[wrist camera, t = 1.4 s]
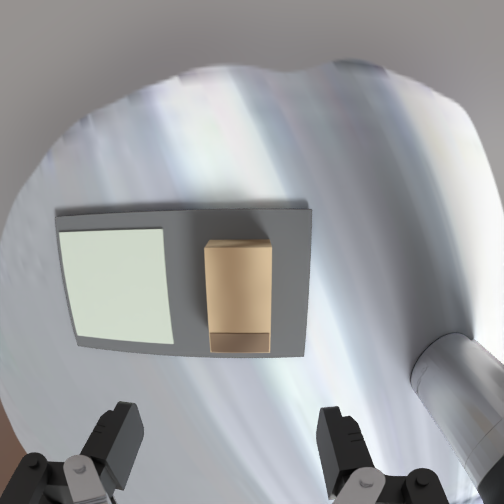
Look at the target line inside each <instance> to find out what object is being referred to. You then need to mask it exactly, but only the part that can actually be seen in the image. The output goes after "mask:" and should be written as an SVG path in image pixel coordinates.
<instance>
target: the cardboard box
mask: <svg viewBox="0 0 504 504" xmlns="http://www.w3.org/2000/svg"><path fill="white" fill-rule="evenodd" d="M204 254H205V275H206V294H207V310H208V325H209V339H210V352H215V353H270V338H271V289H272V246H271V242H270V239H252V240H209V241H208V243H207V244H206V246H205V247H204Z"/></svg>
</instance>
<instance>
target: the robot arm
mask: <svg viewBox="0 0 504 504" xmlns="http://www.w3.org/2000/svg"><path fill="white" fill-rule="evenodd" d="M411 385H412V388H413V390H414V391H415V393H416V394H417V396H418V397H419V399H420V400H421V402H422V403H423V405H424V406H425V408H426V409H427V411H428V412H429V414H430V415H431V417H432V418H433V420H434V422H435V423H436V425H437V426H438V428H439V429H440V431H441V432H442V434H443V435H444V437H445V439H446V440H447V442H448V443H449V445H450V446H451V448H452V450H453V451H454V453H455V454H456V456H457V458H458V459H459V461H460V463H461V464H462V466H463V467H464V469H465V471H466V472H467V474H468V476H469V477H470V479H471V481H472V482H473V484H474V486H475V487H476V489H477V491H478V493H479V494H480V496H481V498H482V500H483V503H484V504H504V365H503V364H502V363H501V362H500V361H499V360H498V359H497V358H495V357H494V356H493V355H492V354H491V353H490V352H489V351H487V350H486V349H485V348H484V347H483V346H482V345H481V344H479V343H478V342H477V341H476V340H475V339H474V340H470V339H469V338H467V337H466V336H465V335H463V334H461V333H452V334H448V335H445V336H443V337H441V338H440V339H438V340H436V341H435V342H434V343H433V344H431V345H430V346H429V347H428V348H427V349H426V350H425V351H424V352H423V354H422V355H421V356H420V358H419V359H418V361H417V363H416V364H415V367H414V369H413V372H412V376H411ZM143 436H144V427H143V423H142V420H141V417H140V414H139V411H138V408H137V405H136V404H135V403H129V402H122V401H119V402H118V403H117V405H116V407H115V409H114V411H111V410H108V411H107V412H106V413H104V414H103V415H102V416H101V417H100V419H99V420H98V422H97V425H96V426H95V428H94V429H93V432H92V433H91V435H90V437H89V438H88V440H87V442H86V444H85V446H84V447H83V449H82V451H81V453H80V454H79V455H74V456H71V457H70V458H68V459H67V460H66V461H65V462H49V461H47V459H46V458H45V457H44V456H43V455H42V454H40V453H29V454H27V455H25V456H24V457H23V458H22V460H21V462H20V463H19V465H18V467H17V468H16V470H15V472H14V474H13V475H12V478H11V479H10V481H9V483H8V485H7V486H6V488H5V490H4V492H3V494H2V496H1V498H0V504H118V503H117V501H116V499H115V497H114V495H113V493H114V490H115V489H119V490H123V491H124V489H125V486H126V483H127V480H128V478H129V475H130V472H131V469H132V467H133V464H134V461H135V458H136V456H137V453H138V450H139V448H140V445H141V442H142V440H143ZM316 440H317V446H318V451H319V455H320V460H321V465H322V469H323V474H324V479H325V483H326V488H327V493H328V498H329V500H332V499H335V500H334V502H333V503H332V504H449V502H448V500H447V497H446V495H445V492H444V490H443V488H442V485H441V483H440V481H439V478H438V476H437V475H436V473H435V472H433V471H432V470H430V469H426V468H419V469H416V470H413V471H412V472H410V473H409V474H408V476H388V475H385V474H383V473H382V472H381V471H380V470H378V469H376V468H375V467H374V465H373V462H372V459H371V457H370V454H369V451H368V449H367V446H366V443H365V441H364V438H363V435H362V434H361V430H360V428H359V425H358V423H357V422H356V421H355V420H354V419H353V418H352V417H351V416H345V417H342V415H341V412H340V409H339V407H338V406H334V407H324V408H321V409H320V413H319V419H318V425H317V431H316Z"/></svg>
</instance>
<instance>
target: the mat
mask: <svg viewBox="0 0 504 504" xmlns="http://www.w3.org/2000/svg"><path fill="white" fill-rule="evenodd" d="M55 224H56V234H57V242H58V250H59V258H60V265H61V271H62V277H63V283H64V288H65V293H66V299H67V303H68V308H69V313H70V317H71V321H72V326H73V330H74V334H75V337H76V341H77V345H78V346H81V347H88V348H96V349H104V350H112V351H121V352H131V353H142V354H154V355H168V356H186V357H212V358H281V357H304V350H305V338H306V326H307V312H308V296H309V278H310V258H311V230H312V209H202V210H166V211H141V212H119V213H101V214H85V215H70V216H57V217H55ZM252 239H270V242H271V246H272V289H271V338H270V353H215V352H210V339H209V325H208V310H207V294H206V275H205V254H204V247H205V246H206V244H207V243H208V241H209V240H252Z"/></svg>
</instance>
